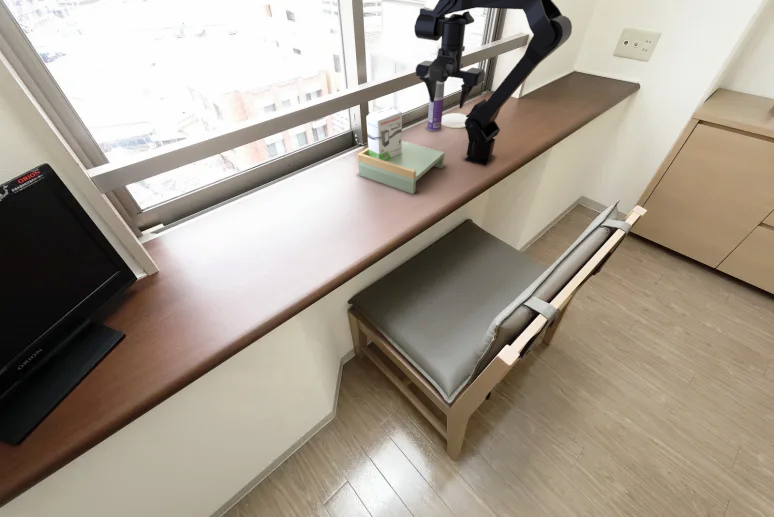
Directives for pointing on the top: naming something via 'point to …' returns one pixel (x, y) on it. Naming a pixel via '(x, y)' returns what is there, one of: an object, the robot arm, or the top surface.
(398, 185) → the shelf
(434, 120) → the container
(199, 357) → the top surface
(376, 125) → the ink box
